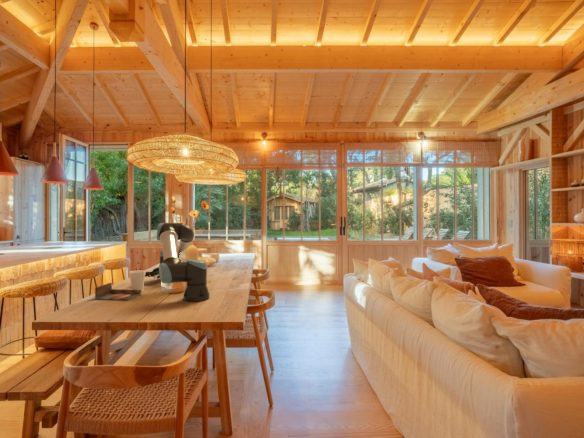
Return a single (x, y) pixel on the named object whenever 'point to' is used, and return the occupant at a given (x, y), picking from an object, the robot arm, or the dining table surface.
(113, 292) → the wooden-edged grey tray
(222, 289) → the dining table surface
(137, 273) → the foam cup
